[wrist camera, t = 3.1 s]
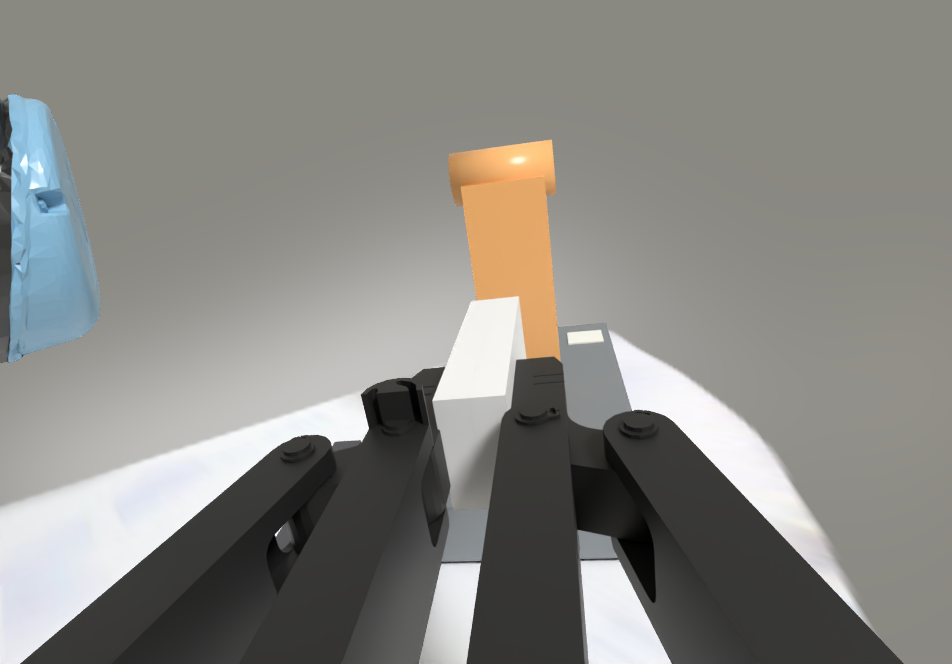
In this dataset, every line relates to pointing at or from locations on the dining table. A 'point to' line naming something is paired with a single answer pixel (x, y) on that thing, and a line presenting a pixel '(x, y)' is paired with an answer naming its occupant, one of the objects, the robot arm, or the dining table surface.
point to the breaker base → (588, 404)
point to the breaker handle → (511, 232)
